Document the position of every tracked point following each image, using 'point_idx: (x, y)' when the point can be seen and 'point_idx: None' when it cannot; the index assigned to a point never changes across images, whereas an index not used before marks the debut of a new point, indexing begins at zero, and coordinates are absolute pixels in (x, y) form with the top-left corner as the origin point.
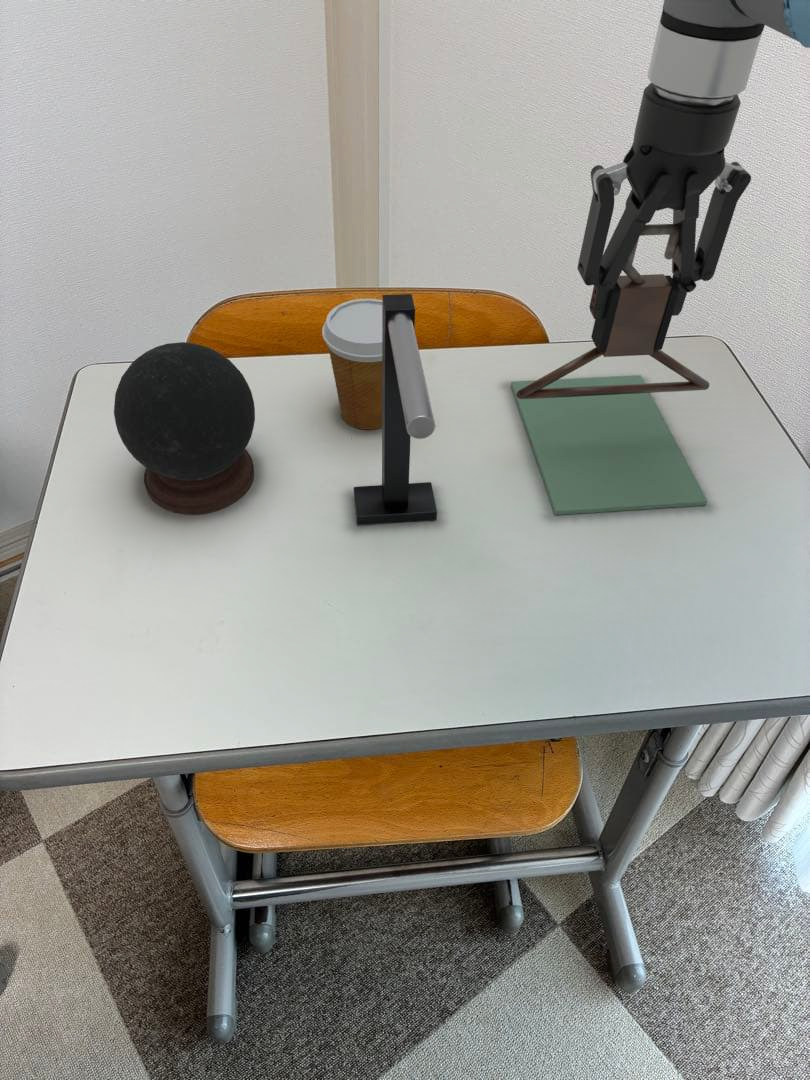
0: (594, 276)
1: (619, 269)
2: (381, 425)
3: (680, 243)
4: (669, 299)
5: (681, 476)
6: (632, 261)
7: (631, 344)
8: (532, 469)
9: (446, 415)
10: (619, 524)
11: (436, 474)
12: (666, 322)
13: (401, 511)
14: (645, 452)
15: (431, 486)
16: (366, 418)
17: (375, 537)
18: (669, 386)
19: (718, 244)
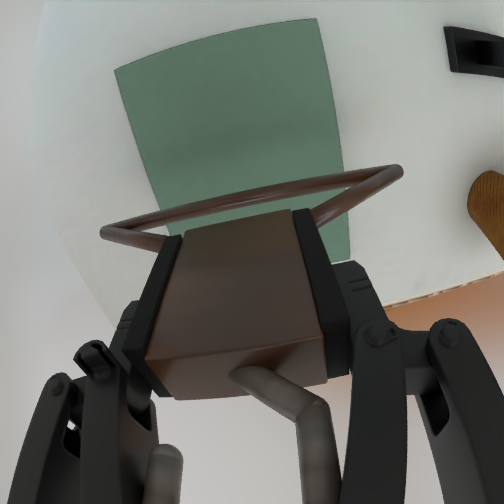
0: (445, 348)
1: (364, 396)
2: (484, 174)
3: (130, 499)
4: (149, 324)
5: (141, 106)
6: (303, 434)
7: (234, 232)
8: (340, 100)
9: (425, 196)
10: (229, 11)
11: (444, 96)
12: (156, 277)
13: (478, 34)
14: (186, 144)
15: (457, 65)
16: (502, 175)
17: (486, 19)
18: (153, 217)
19: (27, 465)
